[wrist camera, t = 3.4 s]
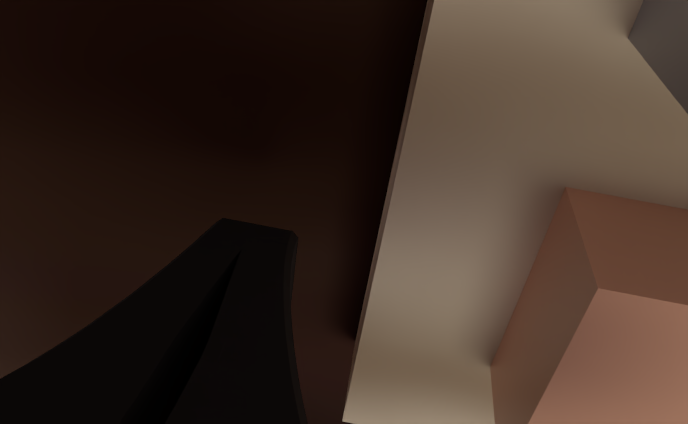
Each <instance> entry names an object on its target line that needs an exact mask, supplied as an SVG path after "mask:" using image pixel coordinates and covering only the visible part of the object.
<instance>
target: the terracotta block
mask: <svg viewBox="0 0 688 424" xmlns="http://www.w3.org/2000/svg"><path fill="white" fill-rule="evenodd" d="M490 372H491V384H492V396H493V408H494V419H495V424H688V210H687V209H682V208H676V207H671V206H666V205H660V204H655V203H650V202H644V201H639V200H633V199H628V198H623V197H617V196H612V195H607V194H601V193H596V192H591V191H585V190H580V189H574V188H569V187H565V189H564V192H563V194H562V196H561V199H560V201H559V204H558V206H557V208H556V211H555V213H554V216H553V218H552V220H551V223H550V225H549V228H548V230H547V232H546V235H545V237H544V240H543V242H542V244H541V247H540V249H539V251H538V254H537V256H536V259H535V261H534V263H533V266H532V268H531V271H530V273H529V275H528V278H527V280H526V283H525V285H524V287H523V290H522V292H521V295H520V297H519V299H518V302H517V304H516V307H515V309H514V311H513V314H512V316H511V318H510V321H509V323H508V326H507V328H506V330H505V333H504V335H503V338H502V340H501V342H500V345H499V347H498V350H497V352H496V354H495V357H494V359H493V362H492V364H491V366H490Z"/></svg>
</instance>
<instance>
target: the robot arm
mask: <svg viewBox="0 0 688 424" xmlns="http://www.w3.org/2000/svg"><path fill="white" fill-rule="evenodd" d="M297 244H298V237H297V236H296V235H295V234H294V232H293V231H289V230H284V229H278V228H273V227H268V226H262V225H257V224H252V223H247V222H241V221H236V220H231V219H226V218H222V219H221V220H219V221H218V222H216V223H215V224H214V225H213V226H212V227H211V228H209V229H208V230H207V231H206V232H205V233H204V234H203V235H202V236H200V237H199V238H198V239H197V240H196V241H195V242H194V243H193V244H191V245H190V246H189V247H188V248H187V249H186V250H185V251H183V252H182V253H181V254H180V255H179V256H178V257H176V258H175V259H174V260H173V261H172V262H171V263H169V264H168V265H167V266H166V267H164V268H163V269H162V270H161V271H159V272H158V273H157V274H156V275H154V276H153V277H152V278H151V279H150V280H148V281H147V282H146V283H145V284H143V285H142V286H141V287H140V288H138V289H137V290H136V291H134V292H133V293H132V294H131V295H129V296H128V297H126V298H125V299H124V300H122V301H121V302H120V303H118V304H117V305H115V306H114V307H113V308H111V309H110V310H109V311H107V312H106V313H104V314H103V315H102V316H100V317H99V318H97V319H96V320H95V321H93V322H92V323H91V324H89V325H88V326H86V327H85V328H83V329H82V330H80V331H79V332H77V333H76V334H74V335H73V336H71V337H70V338H68V339H67V340H65V341H63V342H62V343H60V344H59V345H57V346H56V347H54V348H52V349H51V350H49V351H47V352H46V353H44V354H43V355H41V356H39V357H38V358H36V359H34V360H33V361H31V362H29V363H28V364H26V365H24V366H23V367H21V368H19V369H17V370H15V371H14V372H12V373H10V374H8V375H6V376H5V377H3V378H1V379H0V424H308V423H307V419H306V414H305V409H304V404H303V400H302V395H301V389H300V384H299V378H298V372H297V365H296V358H295V350H294V342H293V333H292V319H291V298H292V289H293V280H294V271H295V262H296V253H297Z"/></svg>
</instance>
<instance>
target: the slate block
mask: <svg viewBox="0 0 688 424" xmlns="http://www.w3.org/2000/svg"><path fill="white" fill-rule="evenodd" d="M628 39H629V40H630V42H631V43H632V44H633V46H634V47H635V48H636V49H637V51H638V52H639V53H640V54H641V56H642V57H643V58H644V60H645V61H646V62H647V63H648V65H649V66H650V67H651V68H652V70H653V71H654V72H655V73H656V75H657V76H658V77H659V79H660V80H661V81H662V82H663V84H664V85H665V86H666V87H667V89H668V90H669V91H670V92H671V94H672V95H673V96H674V98H675V99H676V100H677V101H678V103H679V104H680V105H681V106H682V108H683V109H684V110H685V112H686V113H687V114H688V0H643V3H642V5H641V7H640V10H639V12H638V15H637V17H636V19H635V22H634V24H633V27H632V29H631V31H630V34H629V36H628Z"/></svg>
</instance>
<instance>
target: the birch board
mask: <svg viewBox="0 0 688 424" xmlns="http://www.w3.org/2000/svg"><path fill="white" fill-rule="evenodd" d="M642 3H643V0H428V1H427V6H426V10H425V15H424V20H423V24H422V29H421V34H420V38H419V43H418V48H417V53H416V57H415V62H414V67H413V71H412V76H411V81H410V86H409V90H408V95H407V100H406V104H405V109H404V114H403V119H402V123H401V128H400V133H399V137H398V142H397V147H396V152H395V156H394V161H393V166H392V170H391V175H390V180H389V185H388V189H387V194H386V199H385V203H384V208H383V213H382V218H381V222H380V227H379V232H378V236H377V241H376V246H375V251H374V255H373V260H372V265H371V269H370V274H369V279H368V283H367V288H366V293H365V298H364V302H363V307H362V312H361V316H360V321H359V326H358V331H357V335H356V340H355V345H354V352H353V358H352V364H351V370H350V376H349V383H348V389H347V395H346V401H345V407H344V414H343V420H342V421H343V422H348V423H353V424H495V419H494V408H493V396H492V384H491V372H490V366H491V364H492V362H493V359H494V357H495V354H496V352H497V350H498V347H499V345H500V342H501V340H502V338H503V335H504V333H505V330H506V328H507V326H508V323H509V321H510V318H511V316H512V314H513V311H514V309H515V307H516V304H517V302H518V299H519V297H520V295H521V292H522V290H523V287H524V285H525V283H526V280H527V278H528V275H529V273H530V271H531V268H532V266H533V263H534V261H535V259H536V256H537V254H538V251H539V249H540V247H541V244H542V242H543V240H544V237H545V235H546V232H547V230H548V228H549V225H550V223H551V220H552V218H553V216H554V213H555V211H556V208H557V206H558V204H559V201H560V199H561V196H562V194H563V192H564V189H565V187H569V188H574V189H580V190H585V191H591V192H596V193H601V194H607V195H612V196H617V197H623V198H628V199H633V200H639V201H644V202H650V203H655V204H660V205H666V206H671V207H676V208H682V209H687V210H688V114H687V113H686V112H685V110H684V109H683V108H682V106H681V105H680V104H679V103H678V101H677V100H676V99H675V98H674V96H673V95H672V94H671V92H670V91H669V90H668V89H667V87H666V86H665V85H664V84H663V82H662V81H661V80H660V79H659V77H658V76H657V75H656V73H655V72H654V71H653V70H652V68H651V67H650V66H649V65H648V63H647V62H646V61H645V60H644V58H643V57H642V56H641V54H640V53H639V52H638V51H637V49H636V48H635V47H634V46H633V44H632V43H631V42H630V40H629V39H628V36H629V34H630V31H631V29H632V27H633V24H634V22H635V19H636V17H637V15H638V12H639V10H640V7H641V5H642Z"/></svg>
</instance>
